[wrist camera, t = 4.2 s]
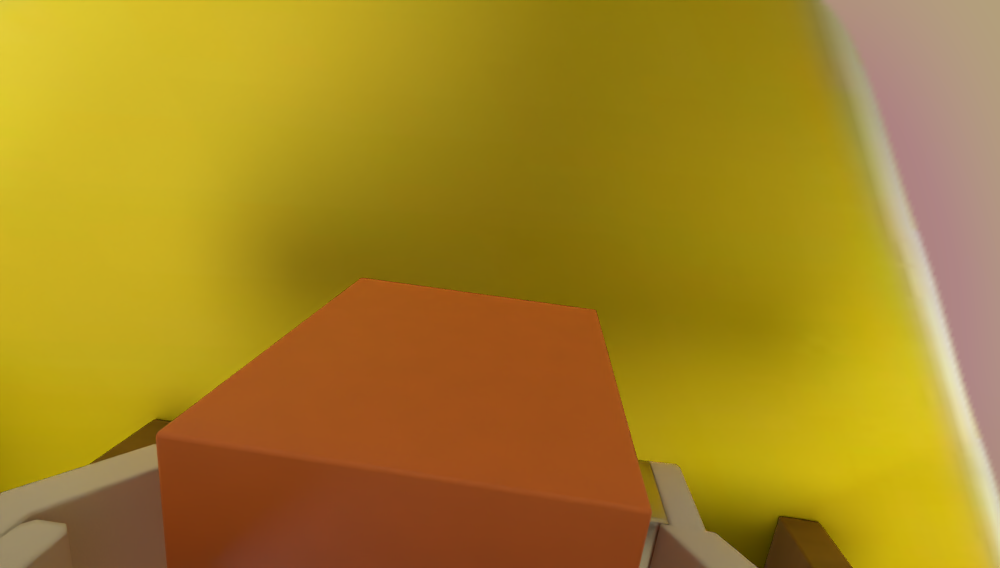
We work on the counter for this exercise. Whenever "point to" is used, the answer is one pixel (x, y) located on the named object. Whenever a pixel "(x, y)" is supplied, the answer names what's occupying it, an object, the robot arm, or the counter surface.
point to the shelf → (790, 562)
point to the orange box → (411, 443)
